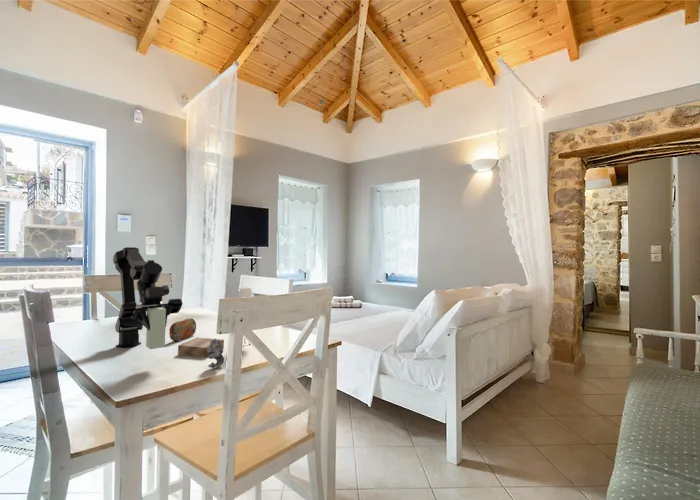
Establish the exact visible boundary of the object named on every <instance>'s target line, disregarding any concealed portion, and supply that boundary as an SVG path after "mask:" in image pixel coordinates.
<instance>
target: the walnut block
mask: <svg viewBox="0 0 700 500" xmlns="http://www.w3.org/2000/svg"><path fill="white" fill-rule="evenodd" d="M214 339H215V338H208V337H195V338H192V339H190V340H188V341H185V342H183V343H181V344H178V345H177V355H178V356H187V357H198V358H199V357H200V358H209V357H208V353H209V352H208V351H207V348H208V347H209V346H210V345H211V344H210V342H211V340H214ZM216 340H220V343H221V344H222V346H221V348H222V349H223V350H224V348H225V346H224V344H225V339H222V338H216Z"/></svg>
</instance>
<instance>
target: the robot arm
mask: <svg viewBox="0 0 700 500" xmlns="http://www.w3.org/2000/svg"><path fill="white" fill-rule="evenodd" d="M112 257H113V259H112V261H113V264H114V266H115V270H116V271H117V272H118V273H119V274H120V284H121V285H120V286H121V287H120V288H121V298H122V299H121V301H122V304H121V306H120V308H119V313H118V317H117V320H116V323H115V328H114V329H115V332H116V333H118V344H116V345H115V347H117V348H132V347H135V346H137V345H141V344H142V342H141V341H140V333H139V331H141V330H143V327H144V328H146V330H147V329H148V330H150V324H149V321H148V318H147V309H148V308H159V307H162V308H164V309H166V322H165V328H166V327H167V322H168V321H167V320H168V316H170V315H172V314H178V313H179V312H180V311H181V308H182V306H183V305H184V304H183V301H182V299H181V298H171V299H169V300H168V302H167V303H163V298H164V296H168V295H169V294H170V287H169V285H168V284H166V285H164V284H163V285H161V286H156V283H158V282H159V279H160V276H161V273H162V271H163V267H162V266H161V264H159V263H157V262H155V260H153V259H152V260H150V259H149V260H148V259H147V261H145V259H144V258H143V256H142V255H141V253H140V250H139V247H134V246H133V247H131V246H130V247H129V246H126V247H123V248H122V249H121V250H119V251H116V252H115V253H114V254H113V256H112ZM135 281H137V282H136V287H137V288H136V289H137V292H138V296H139V300H138V301H139V304H137V301H136V291H135ZM161 302H162V303H161ZM140 303H141V304H140Z"/></svg>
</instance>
